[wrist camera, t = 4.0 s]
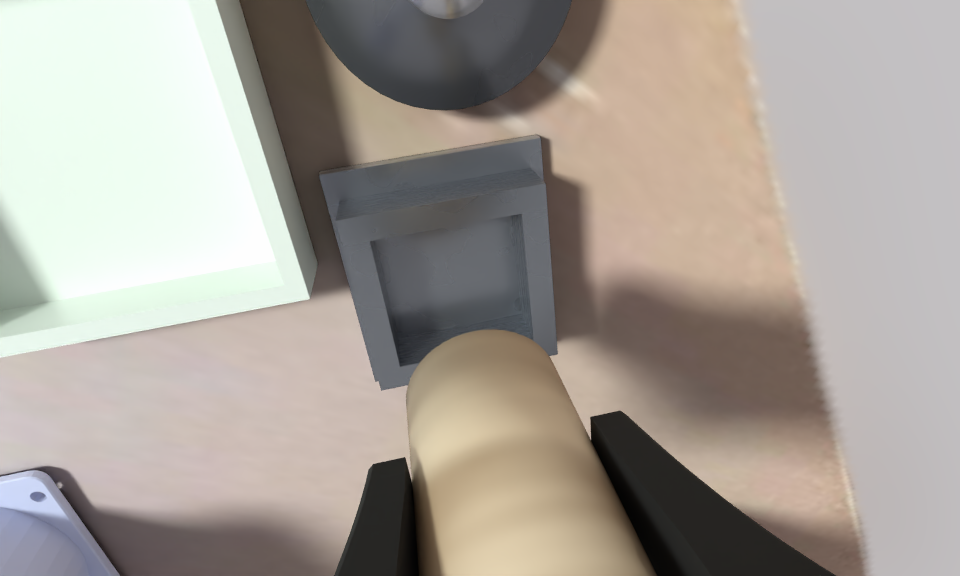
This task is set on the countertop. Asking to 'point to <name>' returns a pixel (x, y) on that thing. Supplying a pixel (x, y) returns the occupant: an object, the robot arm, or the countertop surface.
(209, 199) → the tray
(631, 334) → the countertop surface
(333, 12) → the grey metal round disc
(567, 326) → the countertop surface
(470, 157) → the block
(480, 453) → the pin
